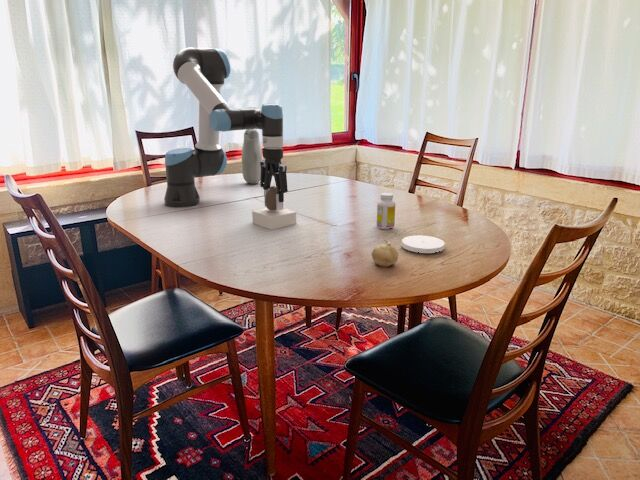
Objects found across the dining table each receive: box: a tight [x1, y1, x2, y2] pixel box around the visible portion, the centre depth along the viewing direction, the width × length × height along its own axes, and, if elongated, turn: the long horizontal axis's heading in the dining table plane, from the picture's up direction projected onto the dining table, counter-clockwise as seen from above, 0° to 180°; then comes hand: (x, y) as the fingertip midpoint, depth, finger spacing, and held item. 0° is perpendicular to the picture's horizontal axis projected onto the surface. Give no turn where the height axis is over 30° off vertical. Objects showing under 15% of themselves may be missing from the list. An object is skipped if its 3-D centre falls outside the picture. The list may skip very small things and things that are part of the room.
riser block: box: [251, 207, 297, 230], centre depth 194 cm, size 12×12×5 cm
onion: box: [371, 240, 399, 268], centre depth 153 cm, size 8×8×7 cm
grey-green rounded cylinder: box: [241, 129, 263, 185], centre depth 259 cm, size 10×10×28 cm
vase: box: [264, 185, 277, 211], centre depth 192 cm, size 7×7×9 cm
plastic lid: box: [401, 234, 446, 254], centre depth 168 cm, size 14×14×2 cm
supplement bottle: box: [376, 192, 396, 230], centre depth 188 cm, size 7×7×13 cm
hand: (273, 207), depth 193 cm, fingers closed on vase, 7 cm apart
